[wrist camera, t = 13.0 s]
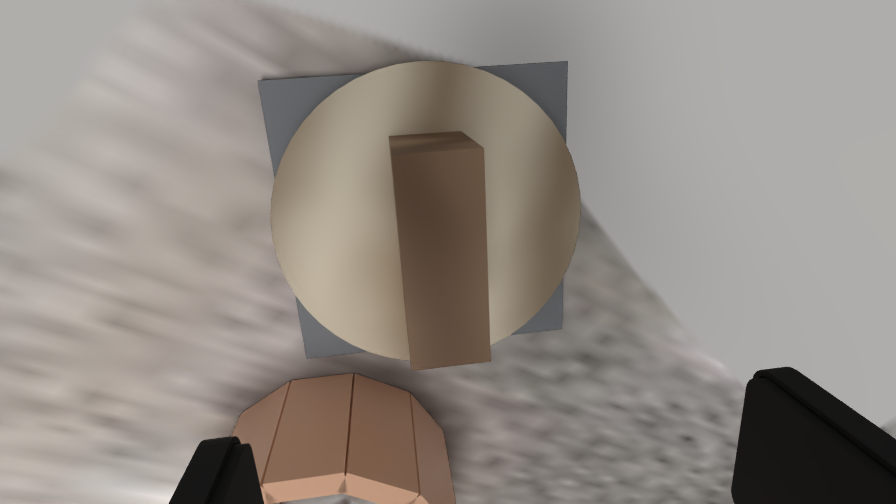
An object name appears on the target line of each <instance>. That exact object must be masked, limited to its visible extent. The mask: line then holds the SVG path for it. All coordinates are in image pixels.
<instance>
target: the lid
mask: <svg viewBox="0 0 896 504" xmlns="http://www.w3.org/2000/svg"><path fill="white" fill-rule="evenodd" d="M580 214H581V206H580V190H579V184H578V178H577V173H576V170H575V166H574V163H573V160H572V157H571V155H570V152H569V150H568V148H567V146H566V143H565V141H564V139H563V137H562V136H561V134H560V133H559V131H558V130H557V128H556V126H555V125H554V123H553V122H552V120H551V119H550V118H549V117H548V116H547V115H546V113H545V112H544V111H543V110H542V109H541V108H540V107H539V105H537V104H536V103H535V102H534V101H533V100H532V99H531V98H529V97H528V96H527V95H526V94H525V93H524V92H522V91H521V90H519V89H518V88H516V87H515V86H513V85H512V84H510V83H509V82H507V81H506V80H504V79H501V78H499V77H497V76H495V75H493V74H491V73H488V72H486V71H484V70H480V69H477V68H474V67H470V66H467V65H463V64H457V63H450V62H444V61H417V62H409V63H401V64H396V65H392V66H388V67H385V68H381V69H377V70H374V71H372V72H370V73H367V74H365V75H363V76H361V77H358V78H356V79H354V80H352V81H351V82H349V83H347V84H346V85H344V86H343V87H341V88H339V89H338V90H336V91H335V92H333V93H332V94H331V95H330V96H329V97H327V98H326V99H325V100H324V101H323V102H321V103H320V104H319V105H318V106H317V107H316V108H315V109H314V110H313V111H312V112H311V114H310V115H309V116H308V117H307V118H306V119H305V120H304V121H303V123H302V124H301V126H300V127H299V128H298V130H297V131H296V133H295V134H294V136H293V137H292V139H291V140H290V142H289V144H288V147H287V149H286V151H285V153H284V155H283V157H282V159H281V162H280V165H279V168H278V171H277V174H276V177H275V181H274V187H273V193H272V198H271V228H272V237H273V243H274V247H275V251H276V255H277V259H278V261H279V264H280V266H281V269H282V271H283V274H284V276H285V278H286V280H287V282H288V284H289V285H290V287H291V289H292V290H293V292H294V294H295V295H296V297H297V298H298V299H299V301H300V302H301V303H302V305H303V306H304V307H305V308H306V310H307V311H308V312H309V313H310V314H311V315H312V316H313V317H314V318H315V319H316V320H317V321H318V322H319V323H320V324H322V325H323V326H324V327H326V328H327V329H328V330H329V331H331V332H332V333H333V334H335V335H336V336H338V337H340V338H341V339H343V340H345V341H346V342H348V343H350V344H352V345H354V346H356V347H359V348H361V349H363V350H366V351H368V352H371V353H374V354H378V355H381V356H385V357H389V358H395V359H401V360H410V361H411V370H412V371H415V370H423V369H432V368H440V367H448V366H457V365H465V364H473V363H482V362H490V361H491V352H490V346H491V345H493V344H495V343H497V342H499V341H500V340H502V339H504V338H506V337H507V336H509V335H511V334H512V333H513V332H515V331H516V330H518V329H519V328H520V327H522V326H523V325H524V324H525V323H527V322H528V321H529V320H530V319H531V318H532V317H533V316H534V315H535V314H536V313H537V312H538V311H539V310H540V309H541V308H542V307H543V305H544V304H545V303H546V302H547V301H548V300H549V299H550V297H551V296H552V294H553V293H554V291H555V290H556V288H557V287H558V285H559V284H560V282H561V280H562V278H563V276H564V274H565V272H566V270H567V268H568V266H569V263H570V261H571V258H572V255H573V253H574V250H575V246H576V241H577V237H578V233H579V225H580Z"/></svg>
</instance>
